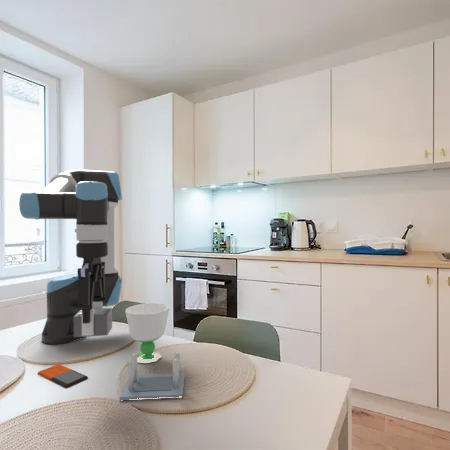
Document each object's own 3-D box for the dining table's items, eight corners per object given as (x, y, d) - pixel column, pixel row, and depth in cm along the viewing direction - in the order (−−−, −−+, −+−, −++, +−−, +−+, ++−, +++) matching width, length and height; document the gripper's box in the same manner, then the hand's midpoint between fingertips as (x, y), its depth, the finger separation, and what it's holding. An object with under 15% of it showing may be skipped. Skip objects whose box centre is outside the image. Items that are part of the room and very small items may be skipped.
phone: (59, 362, 95) (88, 375, 87) (59, 367, 95) (88, 380, 87) (36, 371, 89) (66, 385, 81) (36, 375, 89) (66, 390, 81)
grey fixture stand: (130, 379, 86) (130, 349, 86) (184, 376, 87) (184, 348, 87) (119, 401, 75) (119, 368, 75) (182, 398, 76) (182, 365, 76)
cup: (155, 370, 91) (154, 316, 91) (115, 364, 95) (115, 312, 95) (177, 352, 104) (176, 304, 104) (141, 347, 108) (141, 301, 108)
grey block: (79, 328, 84) (79, 308, 84) (112, 327, 85) (112, 307, 85) (72, 337, 78) (72, 315, 78) (107, 335, 79) (107, 313, 79)
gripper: (90, 239, 90) (90, 319, 91) (60, 244, 71) (61, 345, 71) (117, 239, 91) (117, 318, 91) (94, 244, 72) (94, 344, 72)
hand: (92, 330), depth 81 cm, fingers closed on grey block, 6 cm apart
